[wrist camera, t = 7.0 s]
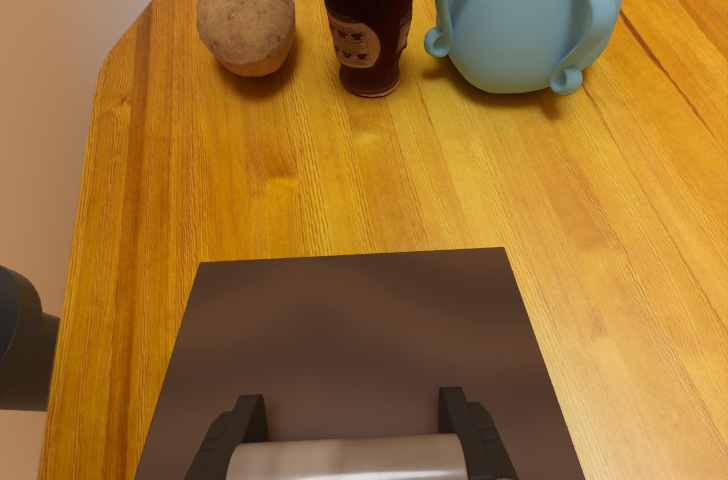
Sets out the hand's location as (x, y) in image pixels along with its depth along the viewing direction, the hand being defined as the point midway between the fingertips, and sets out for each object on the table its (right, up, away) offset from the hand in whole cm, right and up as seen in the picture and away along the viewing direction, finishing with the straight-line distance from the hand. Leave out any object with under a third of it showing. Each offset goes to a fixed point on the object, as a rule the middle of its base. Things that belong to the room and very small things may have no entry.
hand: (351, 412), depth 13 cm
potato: (-11, +26, +29) cm, 40 cm away
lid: (0, 0, +3) cm, 3 cm away
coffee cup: (+1, +23, +27) cm, 35 cm away
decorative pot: (+16, +25, +28) cm, 41 cm away
